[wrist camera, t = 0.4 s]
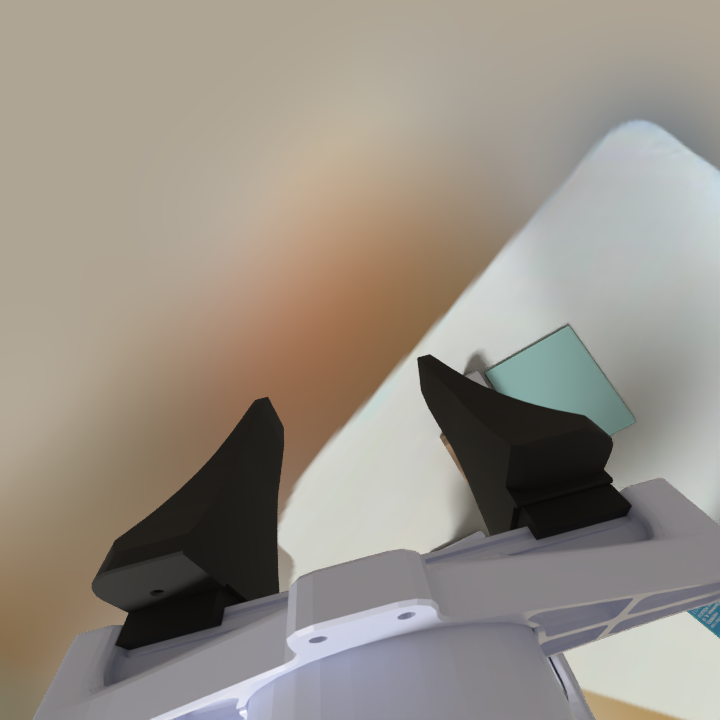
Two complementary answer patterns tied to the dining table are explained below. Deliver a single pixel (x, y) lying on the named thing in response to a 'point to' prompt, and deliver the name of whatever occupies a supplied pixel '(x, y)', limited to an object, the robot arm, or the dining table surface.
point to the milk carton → (708, 616)
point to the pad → (562, 381)
